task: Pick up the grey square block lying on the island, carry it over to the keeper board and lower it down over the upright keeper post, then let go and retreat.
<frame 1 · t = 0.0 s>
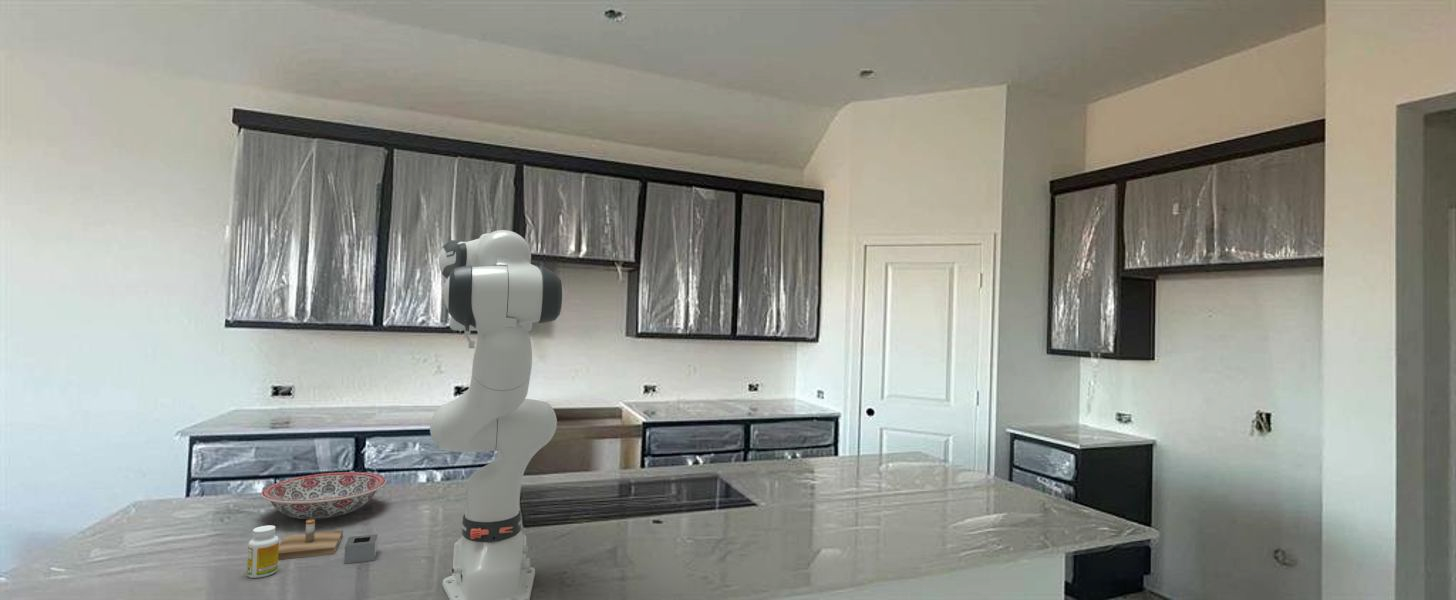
hand: (490, 348, 167), 48 cm above the counter, tool pointing down, fingers open, 8 cm apart
ceramic bowl: (325, 515, 176), on the counter
grey square block: (361, 557, 148), on the counter
keeper: (309, 547, 152), on the counter
supplement bottle: (262, 574, 137), on the counter
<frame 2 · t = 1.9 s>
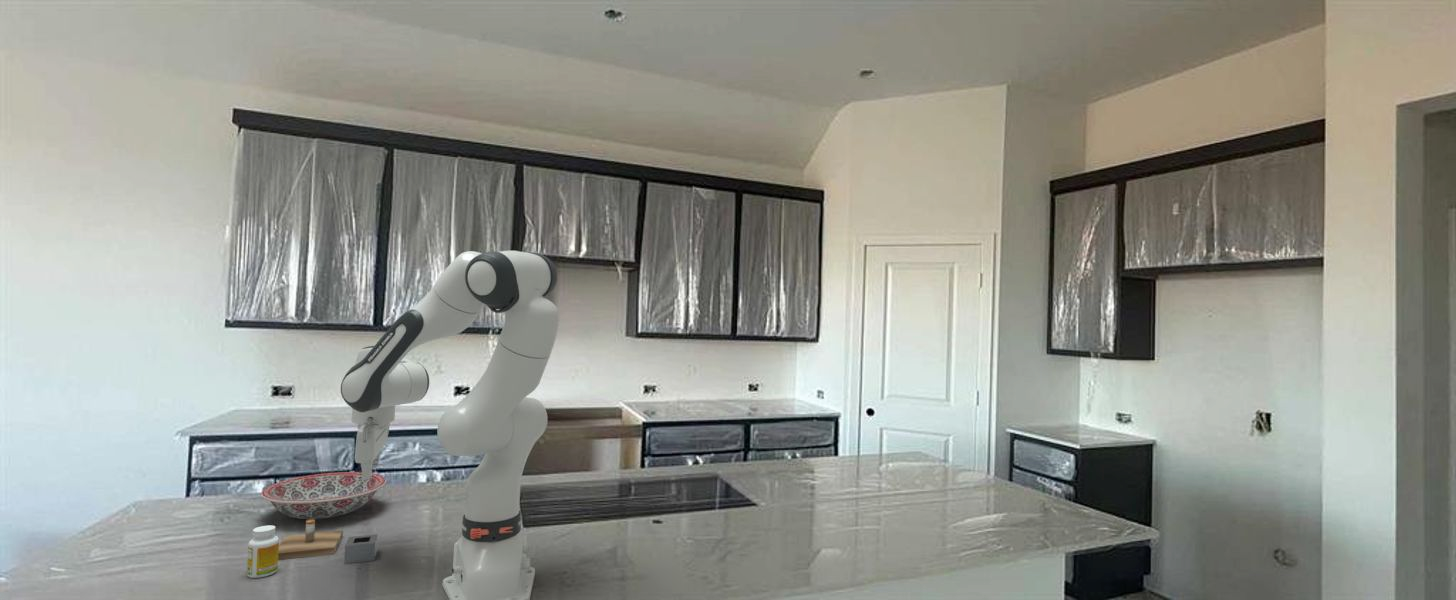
hand: (370, 472, 149), 19 cm above the counter, tool pointing down, fingers open, 8 cm apart
nothing on the counter moved.
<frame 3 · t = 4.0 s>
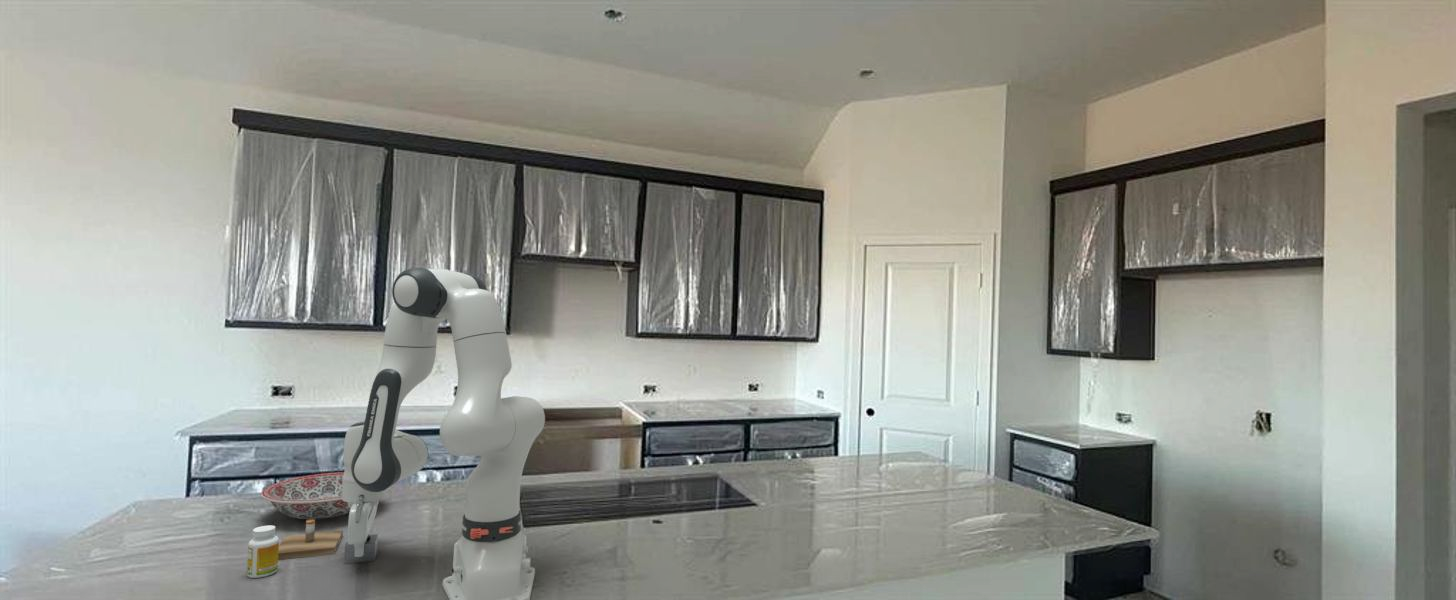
hand: (361, 549, 148), 2 cm above the counter, tool pointing down, fingers closed on grey square block, 6 cm apart
grey square block: (361, 557, 148), on the counter, touching gripper
everything else where it was.
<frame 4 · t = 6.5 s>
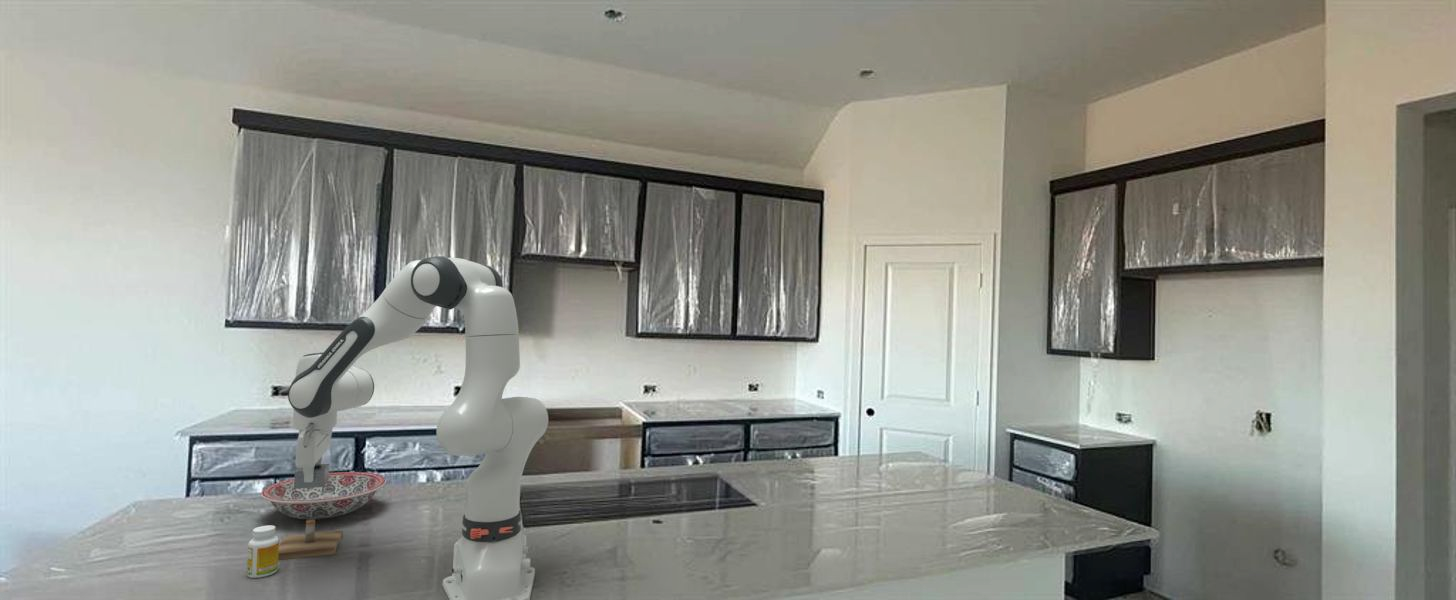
hand: (312, 477, 152), 17 cm above the counter, tool pointing down, fingers closed on grey square block, 6 cm apart
grey square block: (311, 484, 152), point 15 cm above the counter, touching gripper
everything else where it was.
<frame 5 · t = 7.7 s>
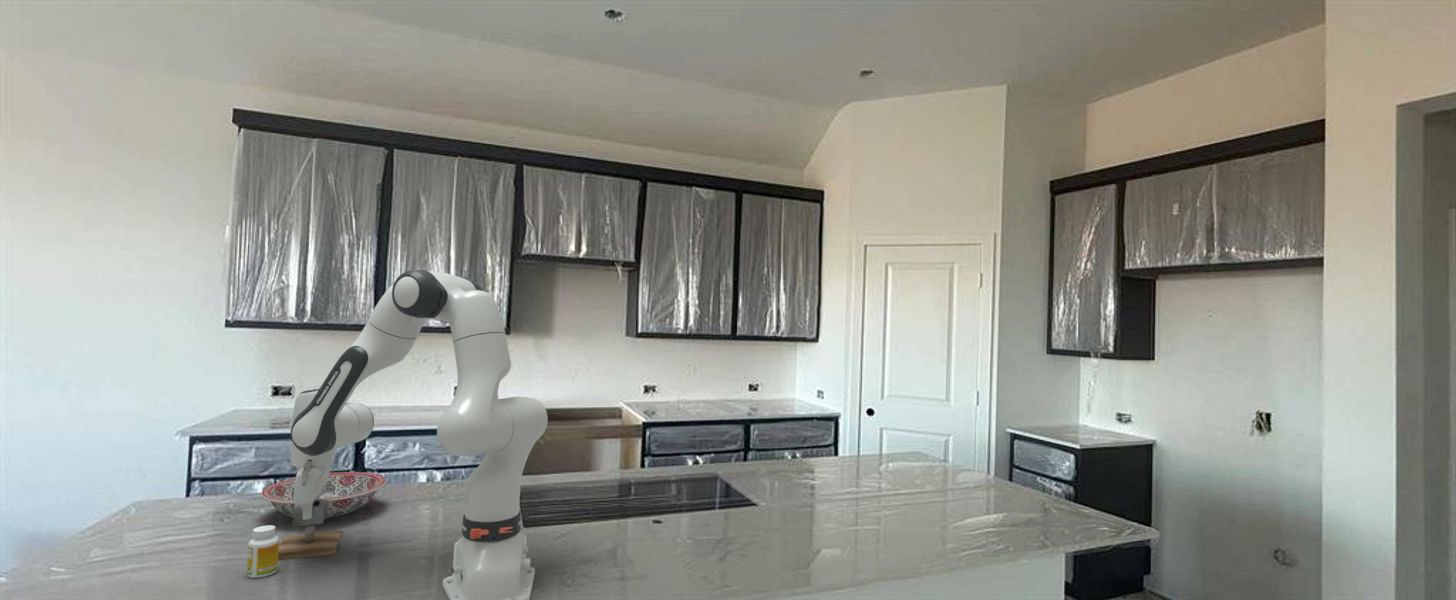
hand: (310, 513, 152), 8 cm above the counter, tool pointing down, fingers closed on grey square block, 6 cm apart
grey square block: (310, 520, 152), point 6 cm above the counter, touching gripper
everything else where it was.
when the fingers open (5 cm above the counter, at t = 8.9 s): grey square block drops 1 cm, resting on keeper.
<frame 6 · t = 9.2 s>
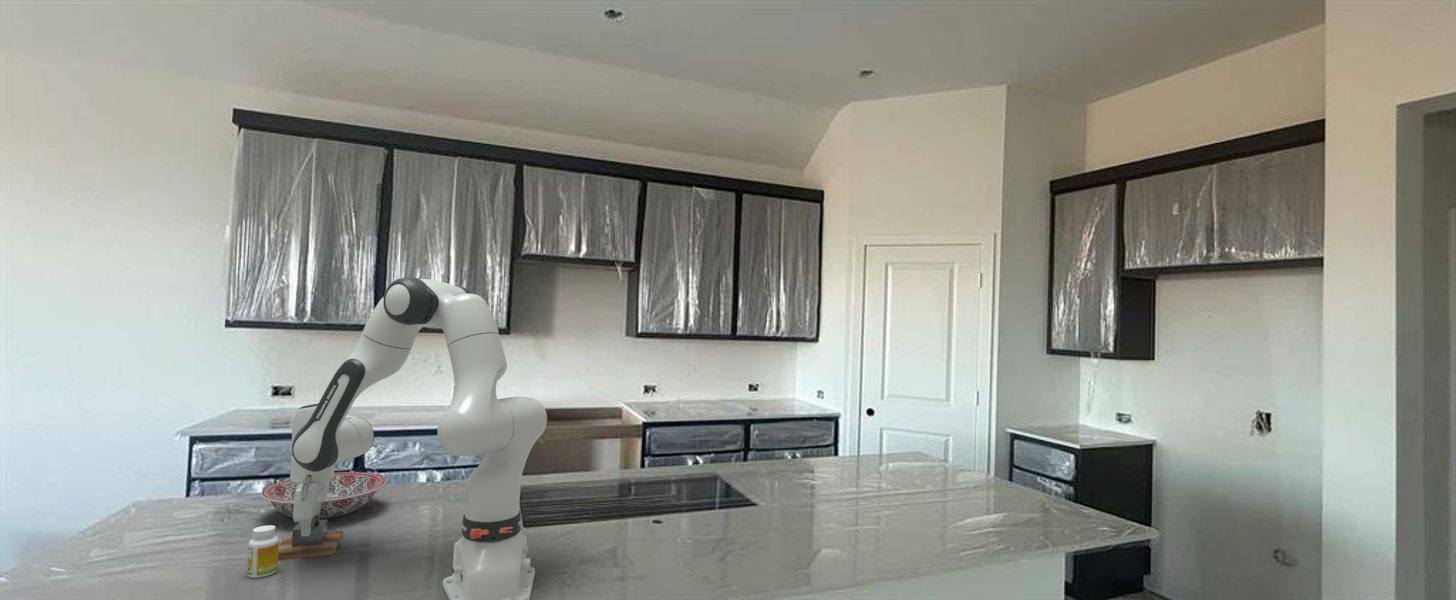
hand: (310, 528, 152), 5 cm above the counter, tool pointing down, fingers open, 8 cm apart
grey square block: (309, 541, 152), point 1 cm above the counter, touching keeper
everything else where it was.
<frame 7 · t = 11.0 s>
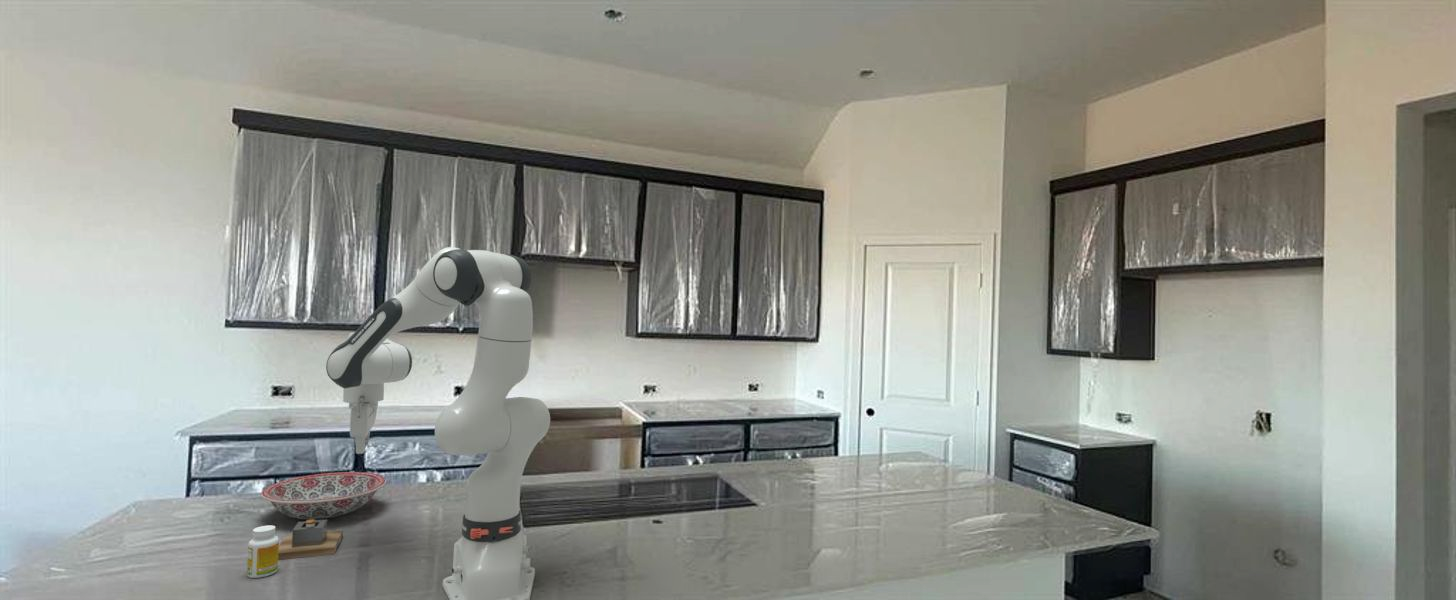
hand: (362, 449, 159), 22 cm above the counter, tool pointing down, fingers open, 8 cm apart
nothing on the counter moved.
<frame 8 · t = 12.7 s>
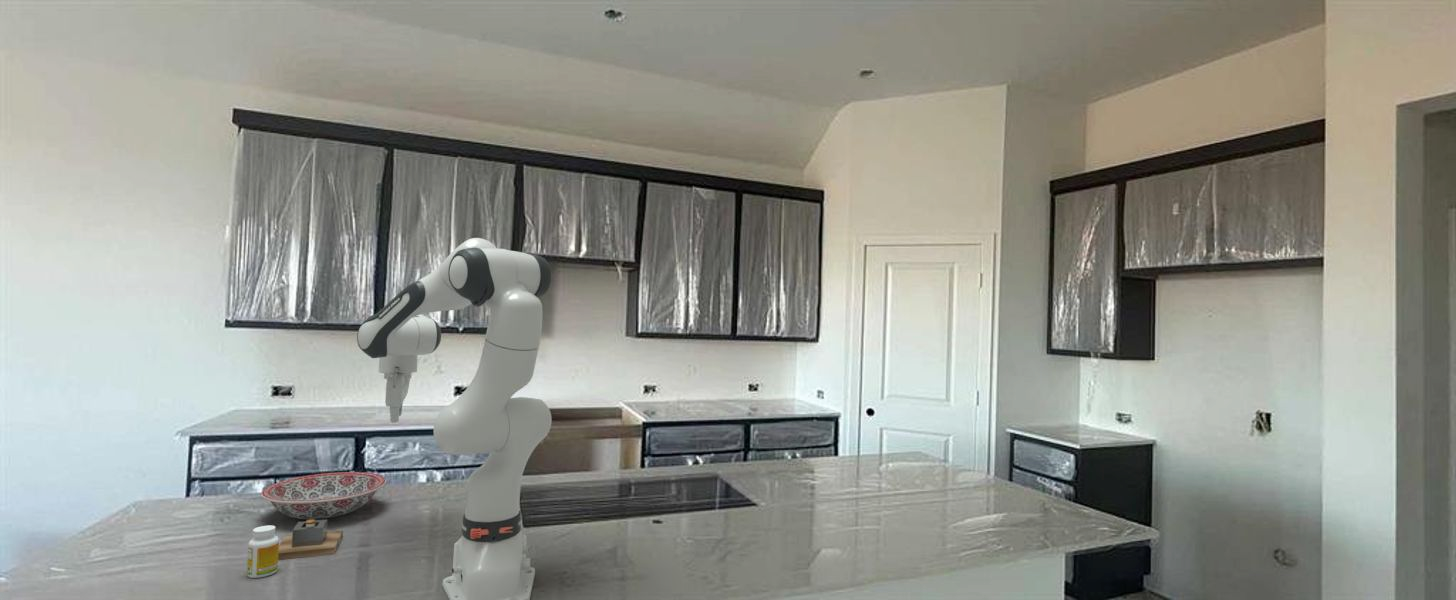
hand: (396, 418, 165), 29 cm above the counter, tool pointing down, fingers open, 8 cm apart
nothing on the counter moved.
at the end: grey square block 0.0 cm off-centre on the keeper, point 1.5 cm above the keeper's base; the gripper is holding nothing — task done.
